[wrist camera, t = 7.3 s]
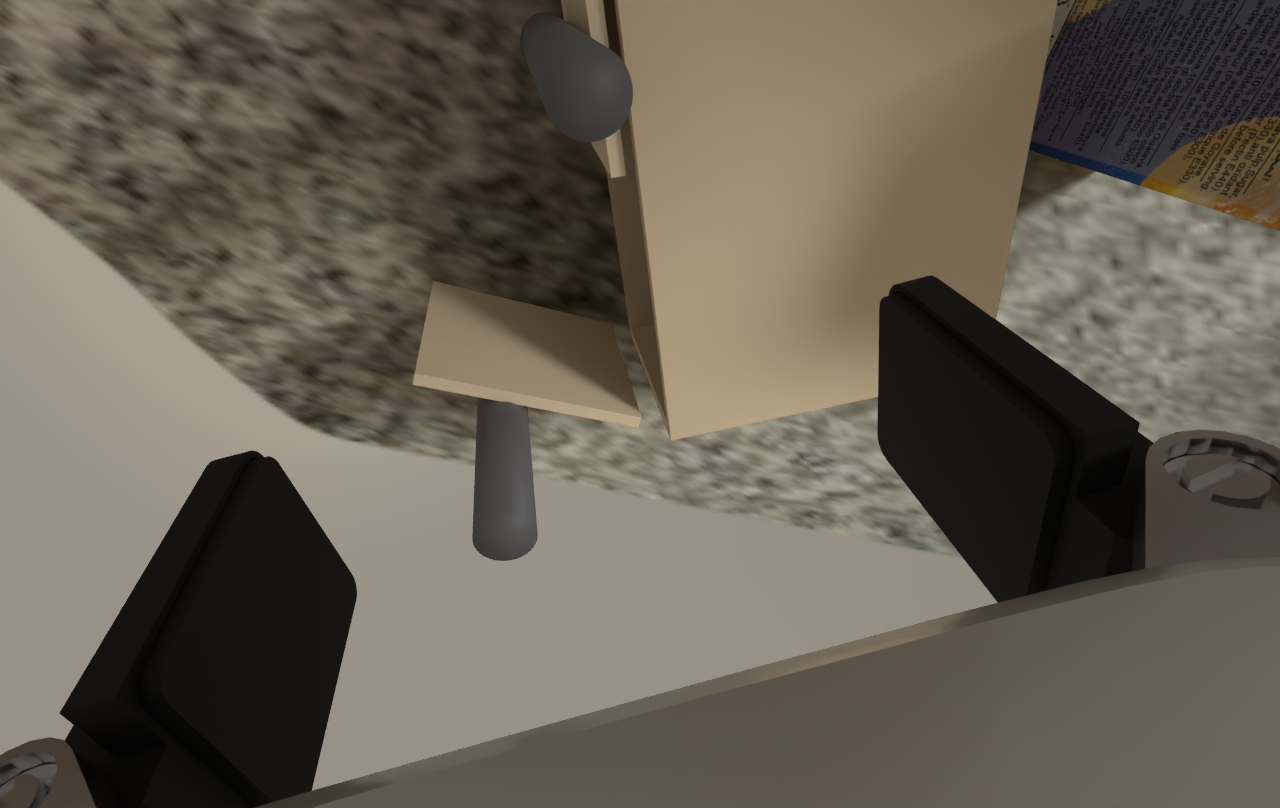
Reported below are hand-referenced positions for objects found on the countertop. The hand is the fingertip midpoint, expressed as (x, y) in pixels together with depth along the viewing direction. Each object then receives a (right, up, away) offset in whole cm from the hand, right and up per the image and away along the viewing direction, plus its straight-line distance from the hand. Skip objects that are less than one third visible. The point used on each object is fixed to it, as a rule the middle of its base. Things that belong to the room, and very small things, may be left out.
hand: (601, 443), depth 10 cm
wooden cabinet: (+6, +14, +20) cm, 26 cm away
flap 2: (-6, +5, +24) cm, 25 cm away
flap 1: (-3, +16, +17) cm, 24 cm away
